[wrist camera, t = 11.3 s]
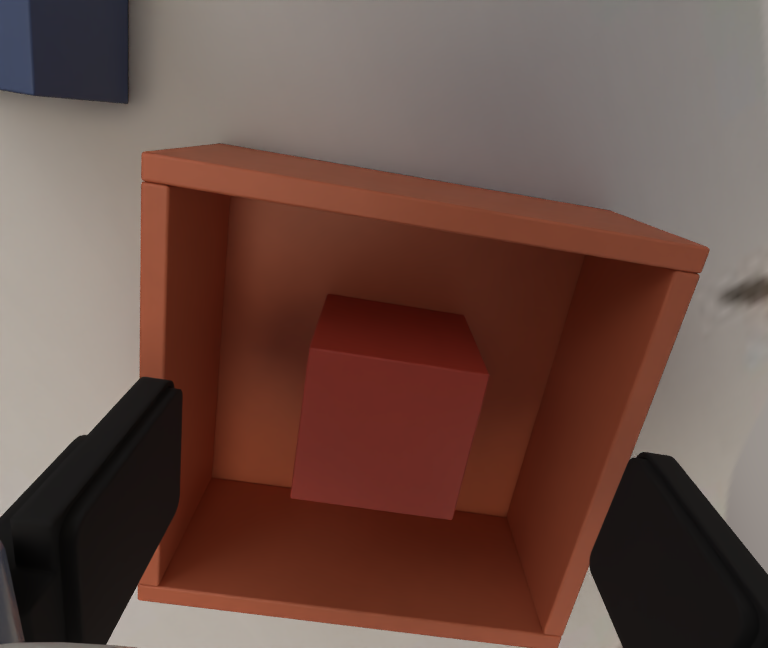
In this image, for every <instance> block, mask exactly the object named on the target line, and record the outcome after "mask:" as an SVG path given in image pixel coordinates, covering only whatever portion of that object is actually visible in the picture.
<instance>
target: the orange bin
mask: <svg viewBox="0 0 768 648" xmlns="http://www.w3.org/2000/svg"><path fill="white" fill-rule="evenodd" d="M141 178H142V180H143V181H145V182H142V184H141V280H140V378H141V377H152V378H158V379H165V380H171V381H173V383H174V387H175V388H176V389H181V390H182V393H183V405H182V440H181V474H180V499H179V504H178V508H177V511H176V513H175V515H174V517H173V519H172V521H171V523H170V525H169V527H168V529H167V530H166V532H165V534H164V536H163V538H162V540H161V542H160V544H159V546H158V547H157V549H156V551H155V553H154V555H153V557H152V559H151V561H150V563H149V564H148V566H147V568H146V570H145V572H144V574H143V576H142V578H141V580H140V581H139V584H138V600H142V601H150V602H159V603H167V604H175V605H183V606H191V607H200V608H208V609H216V610H224V611H232V612H241V613H249V614H257V615H265V616H273V617H282V618H290V619H298V620H306V621H314V622H322V623H331V624H339V625H347V626H355V627H363V628H372V629H380V630H388V631H396V632H404V633H413V634H421V635H429V636H437V637H445V638H454V639H462V640H470V641H478V642H486V643H495V644H503V645H511V646H519V647H527V648H558V646H559V643H560V640H561V636H562V635H563V632H564V630H565V627H566V625H567V622H568V619H569V617H570V614H571V612H572V609H573V606H574V604H575V601H576V599H577V596H578V593H579V591H580V588H581V585H582V583H583V580H584V578H585V575H586V572H587V570H588V567H589V559H590V554H591V551H592V549H593V546H594V544H595V541H596V539H597V536H598V534H599V532H600V529H601V527H602V524H603V522H604V519H605V517H606V514H607V512H608V510H609V507H610V505H611V502H612V500H613V497H614V495H615V493H616V490H617V488H618V485H619V483H620V480H621V478H622V475H623V473H624V471H625V468H626V466H627V463H628V462H629V460H630V457H631V455H632V452H633V450H634V447H635V444H636V442H637V439H638V436H639V434H640V431H641V429H642V426H643V423H644V421H645V418H646V416H647V413H648V410H649V408H650V405H651V402H652V400H653V397H654V395H655V392H656V389H657V387H658V384H659V382H660V379H661V376H662V374H663V371H664V368H665V366H666V363H667V361H668V358H669V355H670V353H671V350H672V348H673V345H674V342H675V340H676V337H677V335H678V332H679V329H680V327H681V324H682V321H683V319H684V316H685V314H686V311H687V308H688V306H689V303H690V301H691V298H692V295H693V293H694V290H695V287H696V285H697V282H698V280H699V275H698V274H697V273H701V271H702V269H703V267H704V264H705V261H706V259H707V256H708V253H709V248H708V247H706V246H703V245H700V244H698V243H695V242H692V241H690V240H687V239H684V238H682V237H679V236H676V235H674V234H671V233H668V232H666V231H663V230H660V229H658V228H655V227H652V226H650V225H647V224H644V223H642V222H639V221H636V220H634V219H631V218H628V217H626V216H623V215H620V214H618V213H615V212H613V211H610V210H604V209H599V208H593V207H587V206H581V205H575V204H570V203H564V202H558V201H552V200H546V199H540V198H535V197H529V196H523V195H517V194H511V193H506V192H500V191H494V190H488V189H482V188H477V187H471V186H465V185H459V184H453V183H448V182H442V181H436V180H430V179H424V178H418V177H413V176H407V175H401V174H395V173H389V172H384V171H378V170H372V169H366V168H360V167H355V166H349V165H343V164H337V163H331V162H325V161H320V160H314V159H308V158H302V157H296V156H291V155H285V154H279V153H273V152H267V151H262V150H256V149H250V148H244V147H238V146H232V145H227V144H221V143H218V144H210V145H201V146H192V147H183V148H174V149H164V150H155V151H146V152H143V153H142V163H141ZM327 294H334V295H340V296H346V297H353V298H359V299H365V300H372V301H378V302H384V303H391V304H397V305H403V306H410V307H416V308H422V309H429V310H435V311H441V312H448V313H454V314H460V315H464V316H465V318H466V321H467V323H468V325H469V328H470V330H471V332H472V335H473V337H474V340H475V342H476V344H477V347H478V349H479V351H480V354H481V356H482V358H483V361H484V363H485V365H486V368H487V370H488V372H489V375H490V377H489V381H488V385H487V389H486V393H485V396H484V400H483V404H482V408H481V412H480V416H479V420H478V423H477V427H476V431H475V435H474V439H473V443H472V447H471V450H470V454H469V458H468V462H467V466H466V470H465V474H464V477H463V481H462V485H461V489H460V493H459V497H458V501H457V504H456V508H455V512H454V516H453V519H452V520H447V519H439V518H432V517H424V516H417V515H410V514H402V513H395V512H387V511H380V510H373V509H365V508H358V507H350V506H343V505H335V504H328V503H321V502H313V501H306V500H298V499H292V498H291V497H290V493H291V485H292V477H293V469H294V461H295V453H296V446H297V438H298V430H299V422H300V414H301V406H302V398H303V391H304V383H305V375H306V367H307V359H308V351H309V347H310V344H311V341H312V338H313V335H314V332H315V329H316V326H317V323H318V320H319V317H320V314H321V311H322V308H323V305H324V302H325V299H326V296H327Z"/></svg>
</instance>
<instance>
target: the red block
mask: <svg viewBox="0 0 768 648" xmlns="http://www.w3.org/2000/svg"><path fill="white" fill-rule="evenodd" d="M489 377H490V375H489V372H488V370H487V368H486V365H485V363H484V361H483V358H482V356H481V354H480V351H479V349H478V347H477V344H476V342H475V340H474V337H473V335H472V332H471V330H470V328H469V325H468V323H467V321H466V318H465V316H464V315H460V314H454V313H448V312H441V311H435V310H429V309H422V308H416V307H410V306H403V305H397V304H391V303H384V302H378V301H372V300H365V299H359V298H353V297H346V296H340V295H334V294H327V296H326V299H325V302H324V305H323V308H322V311H321V314H320V317H319V320H318V323H317V326H316V329H315V332H314V335H313V338H312V341H311V344H310V347H309V351H308V359H307V367H306V375H305V383H304V391H303V398H302V406H301V414H300V422H299V430H298V438H297V446H296V453H295V461H294V469H293V477H292V485H291V493H290V497H291V498H292V499H298V500H306V501H313V502H321V503H328V504H335V505H343V506H350V507H358V508H365V509H373V510H380V511H387V512H395V513H402V514H410V515H417V516H424V517H432V518H439V519H447V520H452V519H453V516H454V512H455V508H456V504H457V501H458V497H459V493H460V489H461V485H462V481H463V477H464V474H465V470H466V466H467V462H468V458H469V454H470V450H471V447H472V443H473V439H474V435H475V431H476V427H477V423H478V420H479V416H480V412H481V408H482V404H483V400H484V396H485V393H486V389H487V385H488V381H489Z"/></svg>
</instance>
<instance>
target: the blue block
mask: <svg viewBox="0 0 768 648" xmlns="http://www.w3.org/2000/svg"><path fill="white" fill-rule="evenodd" d="M0 90H3V91H9V92H15V93H20V94H26V95H32V96H42V97H54V98H65V99H77V100H89V101H100V102H112V103H124V104H127V103H128V0H0Z"/></svg>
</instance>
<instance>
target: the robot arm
mask: <svg viewBox="0 0 768 648" xmlns="http://www.w3.org/2000/svg"><path fill="white" fill-rule="evenodd" d="M182 405H183V393H182V390H181V389H176V388H175V387H174V383H173V381H171V380H165V379H158V378H152V377H141V378H140V379H139V380H138V381H137V382H136V383H135V384H134V385H133V386H132V388H131V389H130V390H129V391H128V392H127V393H126V394H125V395H124V396H123V397H122V398H121V399H120V401H119V402H118V403H117V404H116V405H115V406H114V407H113V408H112V409H111V410H110V411H109V412H108V413H107V415H106V416H105V417H104V418H103V419H102V420H101V421H100V422H99V423H98V424H97V425H96V426H95V428H94V429H93V430H92V431H91V432H90V433H89V434H88V435H82V436H79V437H77V438H76V439H75V440H74V441H73V442H72V443H71V444H70V445H69V446H68V447H67V448H66V449H65V450H64V451H63V452H62V453H61V454H60V455H59V456H58V457H57V458H56V459H55V461H54V462H53V463H52V464H51V465H50V466H49V467H48V468H47V469H46V470H45V471H44V472H43V473H42V474H41V475H40V476H39V477H38V478H37V479H36V480H35V482H34V483H33V484H32V485H31V486H30V487H29V488H28V489H27V490H26V491H25V492H24V493H23V494H22V495H21V496H20V497H19V498H18V499H17V500H16V502H15V503H14V504H13V505H12V506H11V507H10V508H9V509H8V510H7V511H6V512H5V513H4V514H3V515H2V516H1V517H0V648H135V647H125V646H115V645H106V644H107V642H108V640H109V638H110V636H111V634H112V632H113V630H114V629H115V627H116V625H117V623H118V621H119V619H120V617H121V615H122V613H123V612H124V610H125V608H126V606H127V604H128V602H129V600H130V598H131V596H132V595H133V593H134V591H135V589H136V587H137V585H138V583H139V581H140V580H141V578H142V576H143V574H144V572H145V570H146V568H147V566H148V564H149V563H150V561H151V559H152V557H153V555H154V553H155V551H156V549H157V547H158V546H159V544H160V542H161V540H162V538H163V536H164V534H165V532H166V530H167V529H168V527H169V525H170V523H171V521H172V519H173V517H174V515H175V513H176V511H177V508H178V504H179V499H180V474H181V440H182ZM589 565H590V571H591V574H592V576H593V578H594V581H595V583H596V585H597V588H598V590H599V592H600V595H601V597H602V599H603V602H604V604H605V606H606V609H607V611H608V613H609V616H610V618H611V620H612V623H613V625H614V627H615V630H616V632H617V634H618V637H619V639H620V641H621V644H622V646H623V648H768V574H767V573H766V572H765V571H764V569H763V568H762V567H761V566H760V564H759V563H758V562H757V561H756V559H755V558H754V557H753V556H752V554H751V553H750V552H749V551H748V549H747V548H746V547H745V546H744V545H743V543H742V542H741V541H740V539H739V538H738V537H737V536H736V534H735V533H734V532H733V531H732V530H731V528H730V527H729V526H728V525H727V523H726V522H725V521H724V520H723V518H722V517H721V516H720V515H719V513H718V512H717V511H716V510H715V508H714V507H713V506H712V505H711V503H710V502H709V501H708V500H707V498H706V497H705V496H704V495H703V493H702V492H701V491H700V490H699V488H698V487H697V486H696V485H695V484H694V482H693V481H692V480H691V479H690V477H689V476H688V475H687V474H686V472H685V471H684V470H683V469H682V467H681V466H680V465H679V464H678V462H677V461H676V460H675V459H674V458H673V457H671V456H667V455H660V454H654V453H647V452H642V453H640V454H639V455H638V456H637V457H636V458H631V459H630V460H629V462H628V463H627V466H626V468H625V471H624V473H623V475H622V478H621V480H620V483H619V485H618V488H617V490H616V493H615V495H614V497H613V500H612V502H611V505H610V507H609V510H608V512H607V514H606V517H605V519H604V522H603V524H602V527H601V529H600V532H599V534H598V536H597V539H596V541H595V544H594V546H593V549H592V551H591V554H590V559H589Z"/></svg>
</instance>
